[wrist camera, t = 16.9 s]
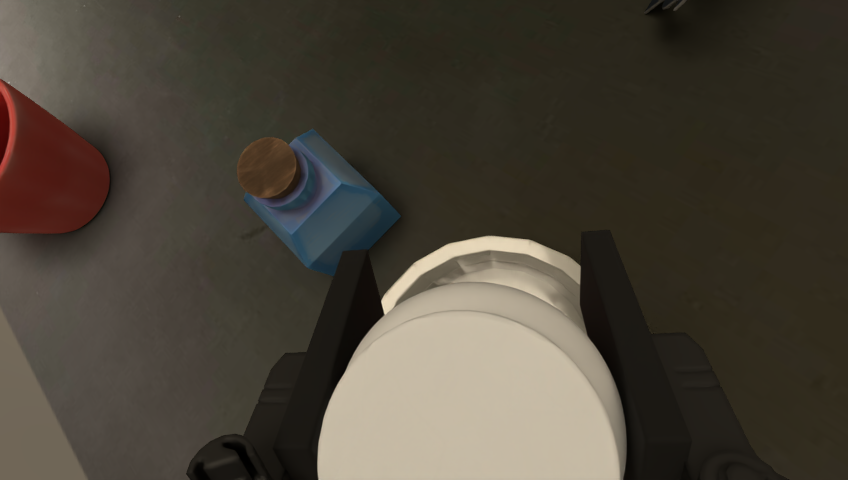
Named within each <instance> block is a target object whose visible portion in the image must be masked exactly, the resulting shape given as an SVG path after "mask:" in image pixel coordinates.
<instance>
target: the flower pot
mask: <svg viewBox="0 0 848 480" xmlns="http://www.w3.org/2000/svg"><path fill="white" fill-rule="evenodd" d="M109 183H110V176H109V169H108V166H107V163H106V161H105V159H104V157H103V156H102V154H101V153H100V152H99V151H98V150H97V149H96V148H95V147H93V146H92V145H91V144H90V143H88V142H87V141H86V140H84V139H83V138H82V137H81V136H79V135H78V134H77V133H76V132H74V131H73V130H72V129H70V128H69V127H68V126H66V125H65V124H64V123H62V122H61V121H60V120H58V119H57V118H56V117H54V116H53V115H51V114H50V113H49V112H47V111H46V110H45V109H43V108H42V107H40V106H39V105H38V104H36V103H35V102H33V101H32V100H31V99H29V98H28V97H26V96H25V95H24V94H22V93H21V92H19V91H18V90H16V89H15V88H14V87H12V86H11V85H9V84H8V83H6V82H5V81H3V80H2V79H0V233H43V234H51V233H66V232H71V231H74V230H77V229H79V228H81V227H82V226H84V225H85V224H87V223H88V222H89V221H90V220H91V219H92V218H94V216H95V215H96V214H97V213H98V211H99V210H100V208H101V207H102V205H103V203H104V201H105V199H106V197H107V193H108V190H109Z"/></svg>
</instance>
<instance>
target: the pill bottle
mask: <svg viewBox="0 0 848 480" xmlns="http://www.w3.org/2000/svg"><path fill="white" fill-rule="evenodd" d="M626 455H627V437H626V425H625V418H624V412H623V407H622V403H621V399H620V395H619V392H618V389H617V387H616V384H615V381H614V379H613V377H612V374H611V372H610V370H609V368H608V366H607V364H606V363H605V361H604V359H603V357H602V356H601V354H600V353H599V351H598V350H597V348H596V347H595V345H594V344H593V343H592V342H591V340H590V339H589V338H588V336H587V335H586V334H585V333H584V332H583V331H582V330H581V329H580V328H579V327H578V326H577V325H576V324H575V323H574V322H573V321H572V320H571V319H570V318H568V317H567V316H566V315H565V314H564V313H562V312H561V311H560V310H558V309H557V308H555V307H554V306H552V305H551V304H549V303H547V302H545V301H544V300H542V299H540V298H538V297H536V296H534V295H532V294H530V293H527V292H525V291H522V290H519V289H516V288H513V287H509V286H506V285H500V284H494V283H487V282H461V283H454V284H448V285H443V286H439V287H435V288H432V289H430V290H427V291H424V292H421V293H419V294H417V295H415V296H413V297H410V298H408V299H407V300H405V301H403V302H402V303H400V304H399V305H397V306H396V307H394V308H393V309H392V310H390V311H389V312H388V313H387V314H385V315H384V316H383V317H382V318H381V319H380V320H379V321H378V322H377V323H376V324H375V325H374V326H373V327H372V328H371V329H370V331H369V332H368V333H367V335H366V336H365V337H364V338H363V340H362V341H361V342H360V344H359V346H358V347H357V349H356V351H355V352H354V354H353V356H352V358H351V360H350V362H349V364H348V366H347V369H346V371H345V373H344V375H343V376H342V378H341V379H340V381H339V382H338V384H337V386H336V388H335V390H334V393H333V395H332V397H331V399H330V401H329V404H328V407H327V410H326V412H325V415H324V418H323V423H322V428H321V433H320V438H319V443H318V461H317V471H318V480H623V477H624V473H625V466H626Z"/></svg>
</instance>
